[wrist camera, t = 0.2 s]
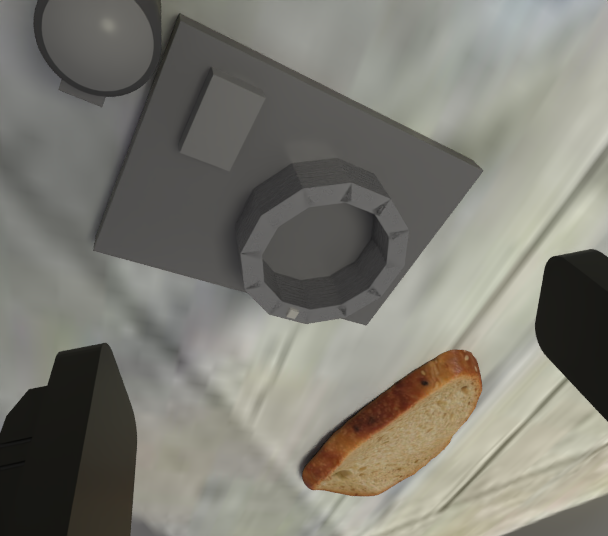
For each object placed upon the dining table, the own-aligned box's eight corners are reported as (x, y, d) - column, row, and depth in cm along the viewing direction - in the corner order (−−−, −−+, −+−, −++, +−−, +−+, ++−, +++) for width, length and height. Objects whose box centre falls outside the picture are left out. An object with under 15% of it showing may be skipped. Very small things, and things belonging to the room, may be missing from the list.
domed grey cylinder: (78, -95, 23) (56, -80, 18) (181, -39, 25) (186, -11, 20) (42, 42, 25) (15, 87, 21) (137, 83, 28) (132, 132, 23)
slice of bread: (482, 339, 47) (503, 371, 44) (462, 450, 59) (478, 481, 56) (285, 384, 45) (293, 420, 42) (304, 490, 57) (311, 525, 54)
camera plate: (179, 13, 26) (181, 27, 24) (472, 160, 35) (492, 179, 33) (95, 236, 32) (91, 262, 30) (360, 312, 41) (371, 336, 39)
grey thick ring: (282, 133, 29) (293, 159, 27) (420, 193, 34) (440, 220, 31) (211, 269, 34) (214, 302, 31) (340, 306, 38) (352, 338, 36)
